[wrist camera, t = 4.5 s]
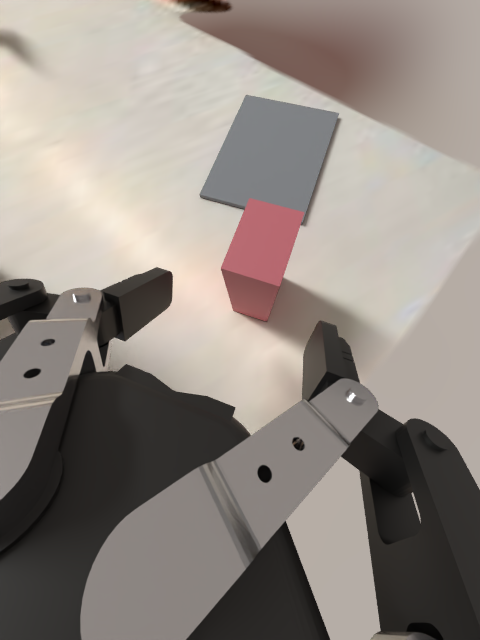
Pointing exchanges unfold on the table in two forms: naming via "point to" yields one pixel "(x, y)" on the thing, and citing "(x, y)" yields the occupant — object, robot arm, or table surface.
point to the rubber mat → (271, 155)
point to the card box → (259, 256)
